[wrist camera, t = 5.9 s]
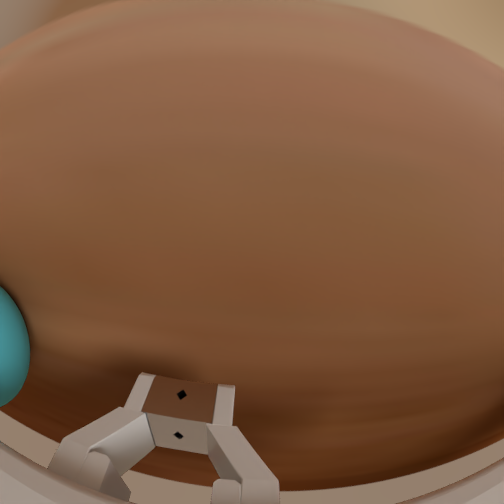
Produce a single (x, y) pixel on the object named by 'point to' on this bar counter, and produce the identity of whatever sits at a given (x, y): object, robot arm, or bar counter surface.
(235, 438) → the robot arm
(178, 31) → the bar counter surface
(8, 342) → the ball
